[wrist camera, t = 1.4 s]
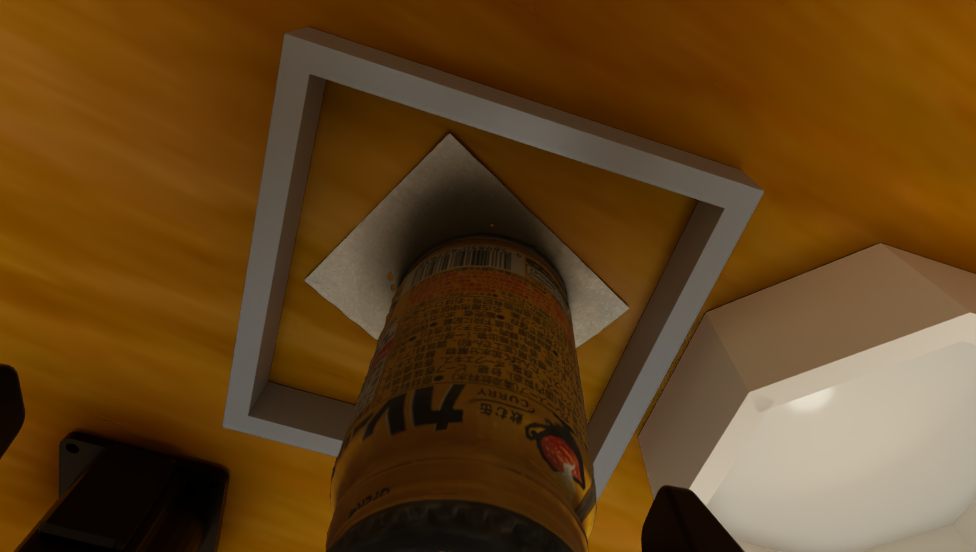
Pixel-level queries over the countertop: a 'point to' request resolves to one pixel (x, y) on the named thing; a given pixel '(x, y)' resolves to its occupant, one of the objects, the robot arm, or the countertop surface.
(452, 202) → the condiment
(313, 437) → the open square frame
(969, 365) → the bowl
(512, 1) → the countertop surface
